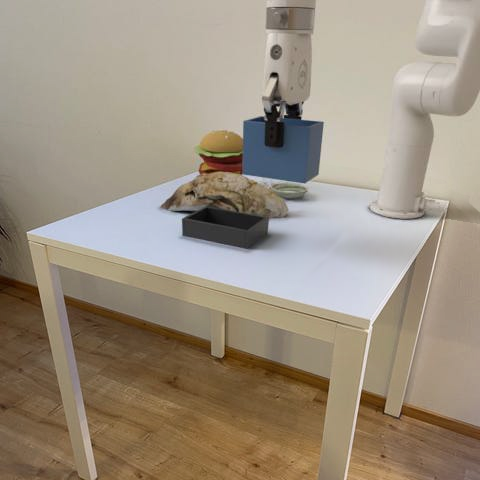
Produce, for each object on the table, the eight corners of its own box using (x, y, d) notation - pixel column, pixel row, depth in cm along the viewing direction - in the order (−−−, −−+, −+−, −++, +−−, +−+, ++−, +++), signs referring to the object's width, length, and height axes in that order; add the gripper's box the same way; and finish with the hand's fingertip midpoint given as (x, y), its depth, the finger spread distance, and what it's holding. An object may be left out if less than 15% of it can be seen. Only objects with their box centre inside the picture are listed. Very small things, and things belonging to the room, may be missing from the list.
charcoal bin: (267, 236, 98) (268, 217, 96) (247, 251, 91) (248, 231, 89) (206, 224, 103) (206, 205, 101) (182, 237, 96) (181, 218, 94)
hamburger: (245, 199, 120) (247, 136, 113) (191, 196, 121) (190, 134, 113) (248, 182, 134) (250, 125, 127) (201, 180, 135) (200, 123, 127)
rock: (172, 160, 117) (293, 162, 111) (177, 198, 123) (293, 201, 116) (147, 182, 105) (283, 185, 98) (154, 223, 110) (283, 228, 104)
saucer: (306, 192, 127) (307, 183, 126) (308, 202, 119) (309, 193, 118) (270, 190, 128) (271, 181, 126) (269, 201, 119) (269, 191, 118)
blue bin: (318, 174, 86) (323, 121, 82) (304, 183, 81) (309, 127, 76) (258, 166, 91) (260, 115, 86) (242, 174, 86) (243, 120, 81)
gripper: (291, 21, 66) (283, 154, 75) (330, 24, 79) (319, 137, 88) (242, 21, 69) (240, 149, 78) (288, 24, 82) (282, 133, 91)
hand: (282, 142), depth 83 cm, fingers closed on blue bin, 7 cm apart
